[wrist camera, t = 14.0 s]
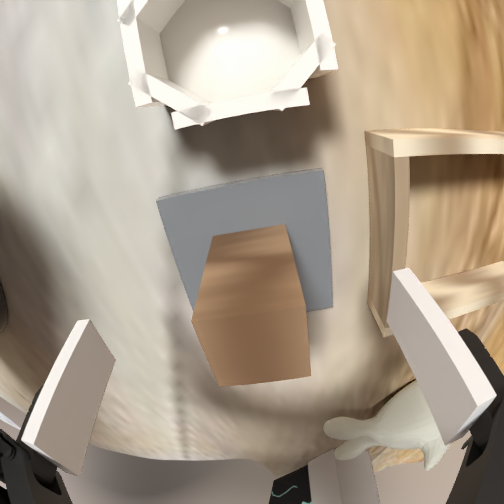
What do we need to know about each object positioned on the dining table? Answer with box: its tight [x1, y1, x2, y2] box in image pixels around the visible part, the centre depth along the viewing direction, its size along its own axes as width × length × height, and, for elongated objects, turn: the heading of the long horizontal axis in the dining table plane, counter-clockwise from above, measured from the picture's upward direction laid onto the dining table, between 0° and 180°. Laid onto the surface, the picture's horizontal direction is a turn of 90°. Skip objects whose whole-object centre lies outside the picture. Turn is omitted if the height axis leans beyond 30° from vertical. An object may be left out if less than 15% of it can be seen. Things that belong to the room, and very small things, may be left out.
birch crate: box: [365, 129, 504, 337], centre depth 14 cm, size 20×12×4 cm, turn 100°
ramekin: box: [117, 0, 338, 130], centre depth 10 cm, size 8×8×4 cm
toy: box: [323, 380, 451, 470], centre depth 22 cm, size 17×19×10 cm
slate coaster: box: [156, 168, 333, 312], centre depth 17 cm, size 9×9×1 cm
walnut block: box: [191, 224, 311, 387], centre depth 14 cm, size 4×4×7 cm
